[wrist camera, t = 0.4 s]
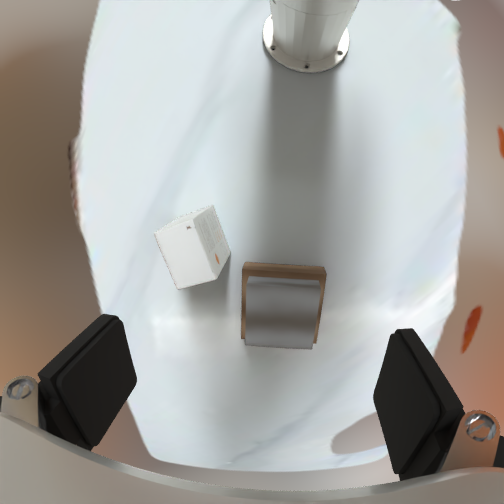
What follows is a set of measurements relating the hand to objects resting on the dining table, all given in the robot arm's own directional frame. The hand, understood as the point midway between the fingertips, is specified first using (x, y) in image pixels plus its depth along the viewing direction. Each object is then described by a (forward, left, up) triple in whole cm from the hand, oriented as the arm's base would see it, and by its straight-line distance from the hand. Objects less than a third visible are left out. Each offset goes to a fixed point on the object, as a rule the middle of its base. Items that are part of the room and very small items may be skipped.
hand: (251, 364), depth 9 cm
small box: (+5, -10, -34) cm, 36 cm away
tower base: (+15, +2, -34) cm, 37 cm away
